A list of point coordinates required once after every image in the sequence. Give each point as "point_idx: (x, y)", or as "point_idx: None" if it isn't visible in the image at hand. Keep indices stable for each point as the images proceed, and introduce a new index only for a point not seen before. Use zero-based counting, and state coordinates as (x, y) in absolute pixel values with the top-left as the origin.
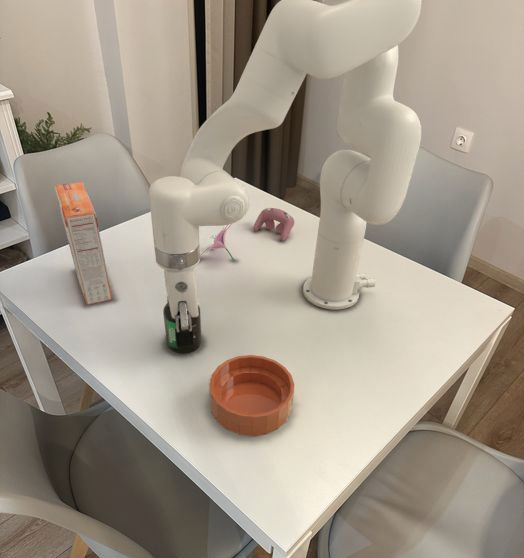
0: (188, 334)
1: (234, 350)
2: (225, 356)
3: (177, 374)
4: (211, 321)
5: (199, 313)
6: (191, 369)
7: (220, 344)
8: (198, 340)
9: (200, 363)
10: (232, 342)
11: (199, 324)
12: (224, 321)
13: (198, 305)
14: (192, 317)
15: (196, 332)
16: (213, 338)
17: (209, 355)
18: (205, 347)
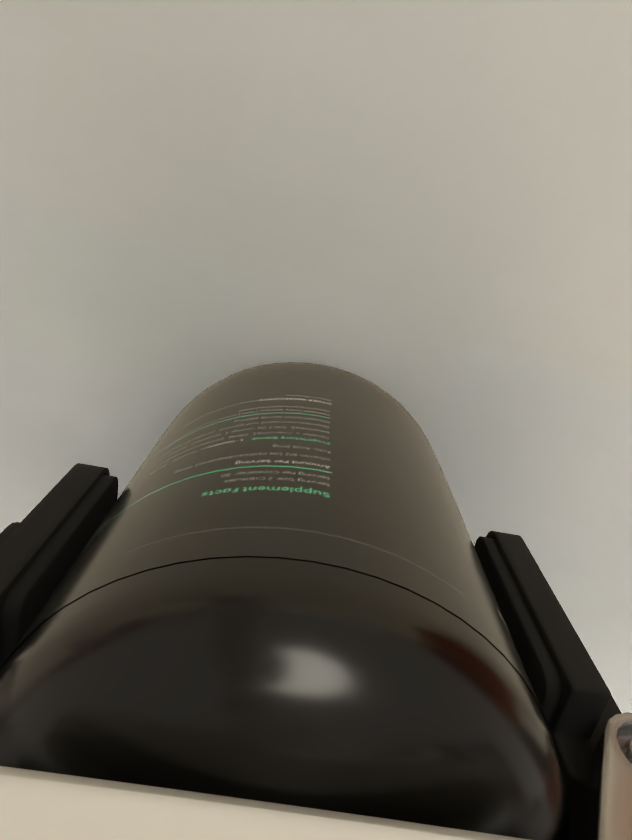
0: (612, 711)
1: (555, 84)
2: (591, 207)
3: (595, 607)
4: (54, 174)
5: (438, 624)
6: (597, 514)
7: (415, 198)
8: (420, 443)
9: (568, 437)
10: (433, 60)
11: (425, 512)
12: (77, 27)
13: (251, 632)
14: (557, 790)
15: (464, 527)
16: (311, 237)
17: (513, 343)
18: (403, 345)
